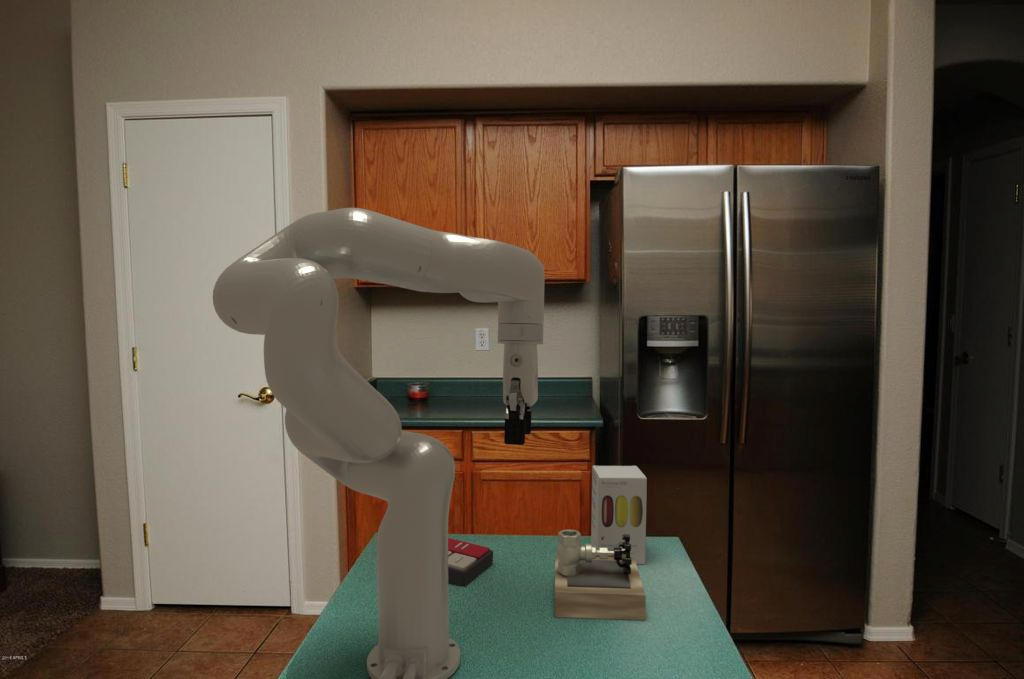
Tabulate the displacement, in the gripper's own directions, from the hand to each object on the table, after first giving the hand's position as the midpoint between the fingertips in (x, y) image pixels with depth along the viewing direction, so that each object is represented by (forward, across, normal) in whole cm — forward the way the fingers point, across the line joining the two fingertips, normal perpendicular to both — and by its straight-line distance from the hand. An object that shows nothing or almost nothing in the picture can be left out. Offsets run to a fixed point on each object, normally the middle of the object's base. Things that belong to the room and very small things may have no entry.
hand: (518, 438), depth 101 cm
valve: (+22, +2, -13) cm, 26 cm away
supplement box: (+26, +21, -18) cm, 38 cm away
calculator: (+28, +12, +15) cm, 33 cm away
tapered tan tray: (+27, +3, -14) cm, 30 cm away
